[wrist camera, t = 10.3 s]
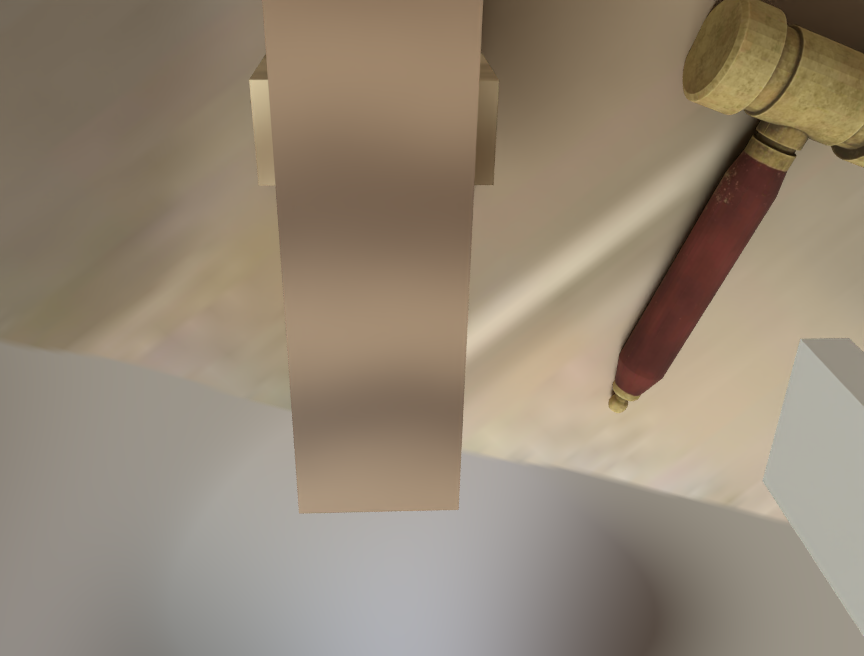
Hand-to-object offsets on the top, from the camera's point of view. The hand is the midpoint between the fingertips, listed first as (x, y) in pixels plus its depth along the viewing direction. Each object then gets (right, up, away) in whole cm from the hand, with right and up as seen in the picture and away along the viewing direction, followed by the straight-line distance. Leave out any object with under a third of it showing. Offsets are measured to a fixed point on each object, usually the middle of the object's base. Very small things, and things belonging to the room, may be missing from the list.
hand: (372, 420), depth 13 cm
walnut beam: (-1, +8, +15) cm, 17 cm away
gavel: (+14, +6, +29) cm, 33 cm away
